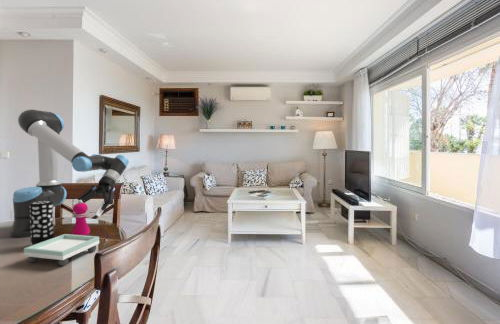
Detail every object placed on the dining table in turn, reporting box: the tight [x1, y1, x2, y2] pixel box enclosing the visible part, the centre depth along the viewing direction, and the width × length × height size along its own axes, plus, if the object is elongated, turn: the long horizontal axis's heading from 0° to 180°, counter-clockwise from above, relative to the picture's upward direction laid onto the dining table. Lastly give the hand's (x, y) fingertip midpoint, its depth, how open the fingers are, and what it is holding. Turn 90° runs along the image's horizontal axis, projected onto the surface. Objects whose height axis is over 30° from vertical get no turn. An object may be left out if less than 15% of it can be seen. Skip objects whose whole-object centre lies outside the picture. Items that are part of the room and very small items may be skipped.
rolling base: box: [23, 233, 100, 267], centre depth 112 cm, size 18×18×6 cm
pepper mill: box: [71, 200, 91, 236], centre depth 130 cm, size 7×7×20 cm
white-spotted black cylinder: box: [30, 201, 55, 246], centre depth 124 cm, size 8×8×20 cm
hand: (85, 214), depth 132 cm, fingers open, 13 cm apart
